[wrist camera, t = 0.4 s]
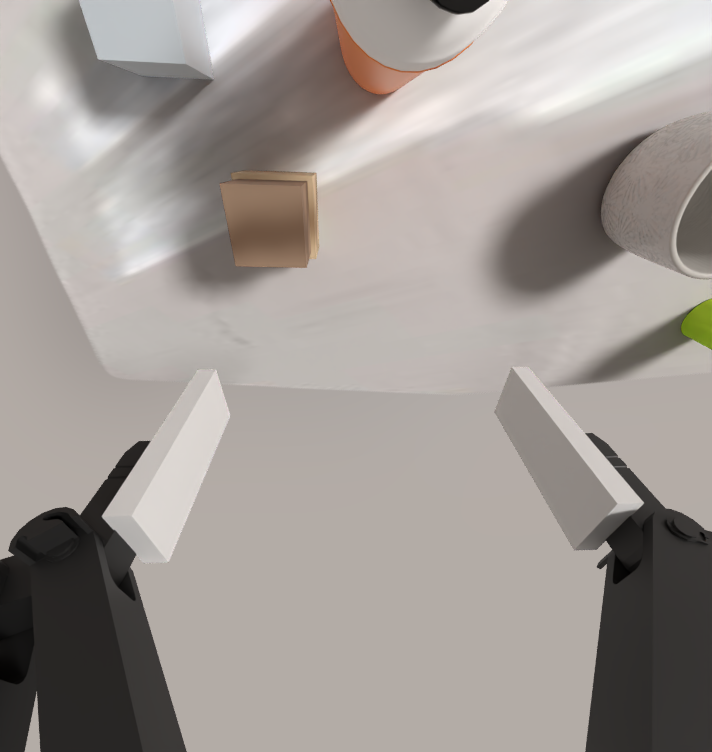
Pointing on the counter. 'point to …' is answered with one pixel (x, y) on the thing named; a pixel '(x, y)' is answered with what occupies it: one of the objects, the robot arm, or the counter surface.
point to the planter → (666, 198)
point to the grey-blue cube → (150, 36)
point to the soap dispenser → (699, 324)
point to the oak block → (312, 196)
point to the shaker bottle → (406, 36)
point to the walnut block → (268, 222)
